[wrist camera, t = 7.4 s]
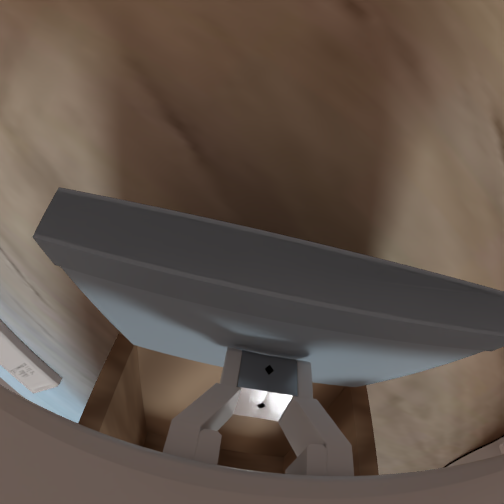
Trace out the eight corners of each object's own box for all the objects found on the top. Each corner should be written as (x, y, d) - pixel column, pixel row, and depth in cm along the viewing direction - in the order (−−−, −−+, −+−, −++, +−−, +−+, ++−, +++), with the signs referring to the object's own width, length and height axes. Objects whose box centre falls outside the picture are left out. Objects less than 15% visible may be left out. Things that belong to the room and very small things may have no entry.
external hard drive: (-23, 286, 21) (64, 375, 26) (-36, 311, 24) (37, 384, 29) (-33, 297, 19) (58, 387, 25) (-44, 320, 22) (31, 394, 27)
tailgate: (349, 368, 19) (517, 295, 7) (347, 390, 18) (522, 338, 6) (142, 327, 18) (58, 187, 6) (136, 349, 17) (32, 237, 6)
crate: (362, 364, 20) (379, 486, 12) (291, 449, 29) (289, 525, 21) (127, 317, 19) (72, 437, 12) (140, 420, 28) (118, 495, 20)
